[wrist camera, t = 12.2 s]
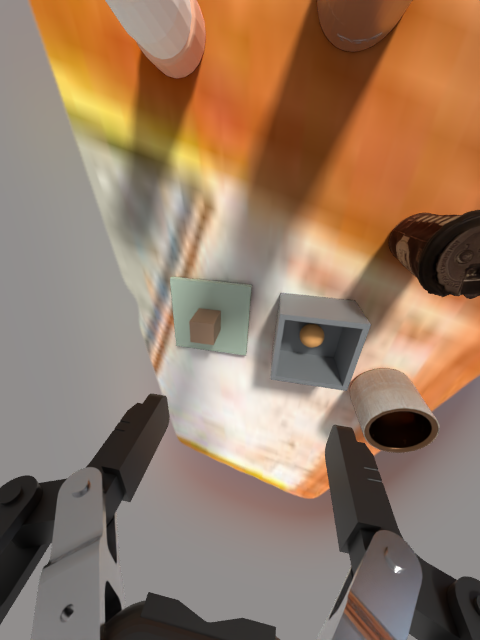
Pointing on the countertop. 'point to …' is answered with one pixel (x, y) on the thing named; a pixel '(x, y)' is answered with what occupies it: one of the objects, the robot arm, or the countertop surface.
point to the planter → (392, 411)
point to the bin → (332, 354)
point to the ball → (311, 335)
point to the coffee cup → (441, 251)
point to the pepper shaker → (165, 32)
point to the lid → (211, 314)
